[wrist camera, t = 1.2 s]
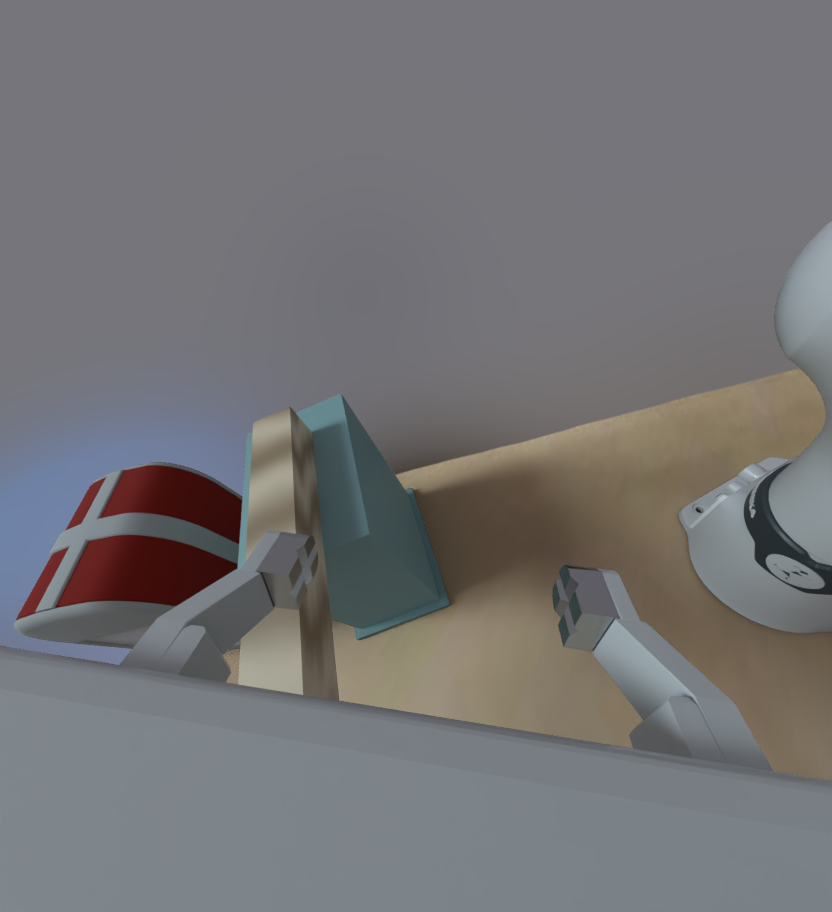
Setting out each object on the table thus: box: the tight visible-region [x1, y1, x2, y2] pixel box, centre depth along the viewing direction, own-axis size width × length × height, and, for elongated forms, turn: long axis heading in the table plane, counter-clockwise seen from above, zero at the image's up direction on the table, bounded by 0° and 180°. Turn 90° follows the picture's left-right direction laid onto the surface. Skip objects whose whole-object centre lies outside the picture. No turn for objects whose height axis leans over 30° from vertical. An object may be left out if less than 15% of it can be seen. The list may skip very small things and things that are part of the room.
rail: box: [238, 407, 339, 701], centre depth 26 cm, size 24×4×4 cm, turn 16°
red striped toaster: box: [14, 462, 243, 650], centre depth 46 cm, size 16×18×27 cm
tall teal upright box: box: [237, 394, 450, 640], centre depth 42 cm, size 20×14×26 cm
